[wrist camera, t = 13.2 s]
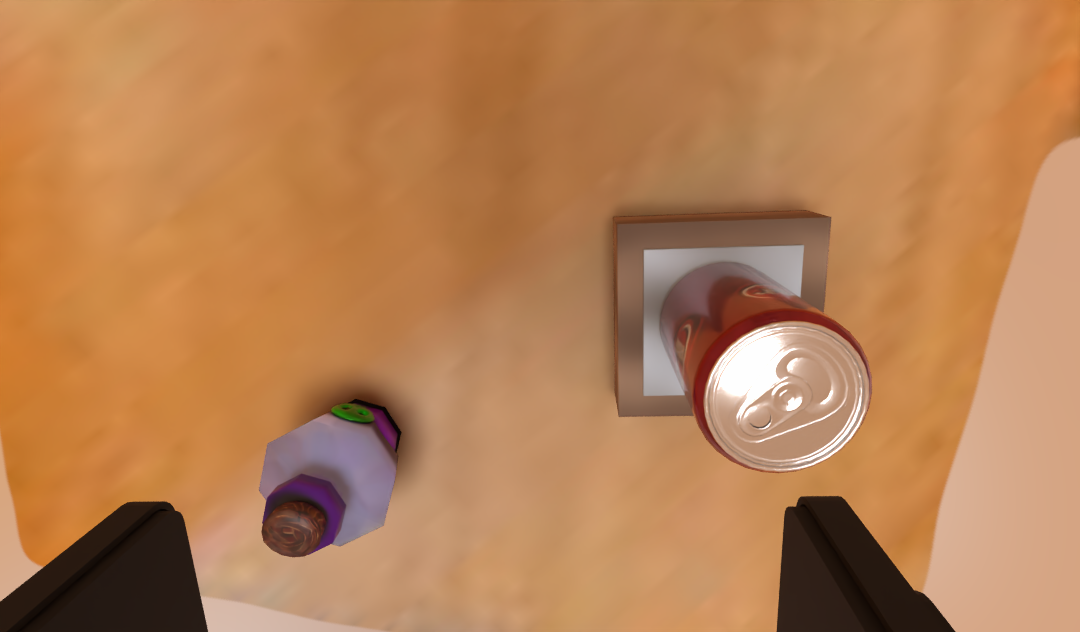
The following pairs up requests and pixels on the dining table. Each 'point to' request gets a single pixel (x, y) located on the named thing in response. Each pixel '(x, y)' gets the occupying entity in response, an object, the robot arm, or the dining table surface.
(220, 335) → the dining table surface
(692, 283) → the soda can
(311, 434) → the potion bottle
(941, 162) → the dining table surface
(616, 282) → the pedestal
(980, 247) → the dining table surface
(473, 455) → the dining table surface
